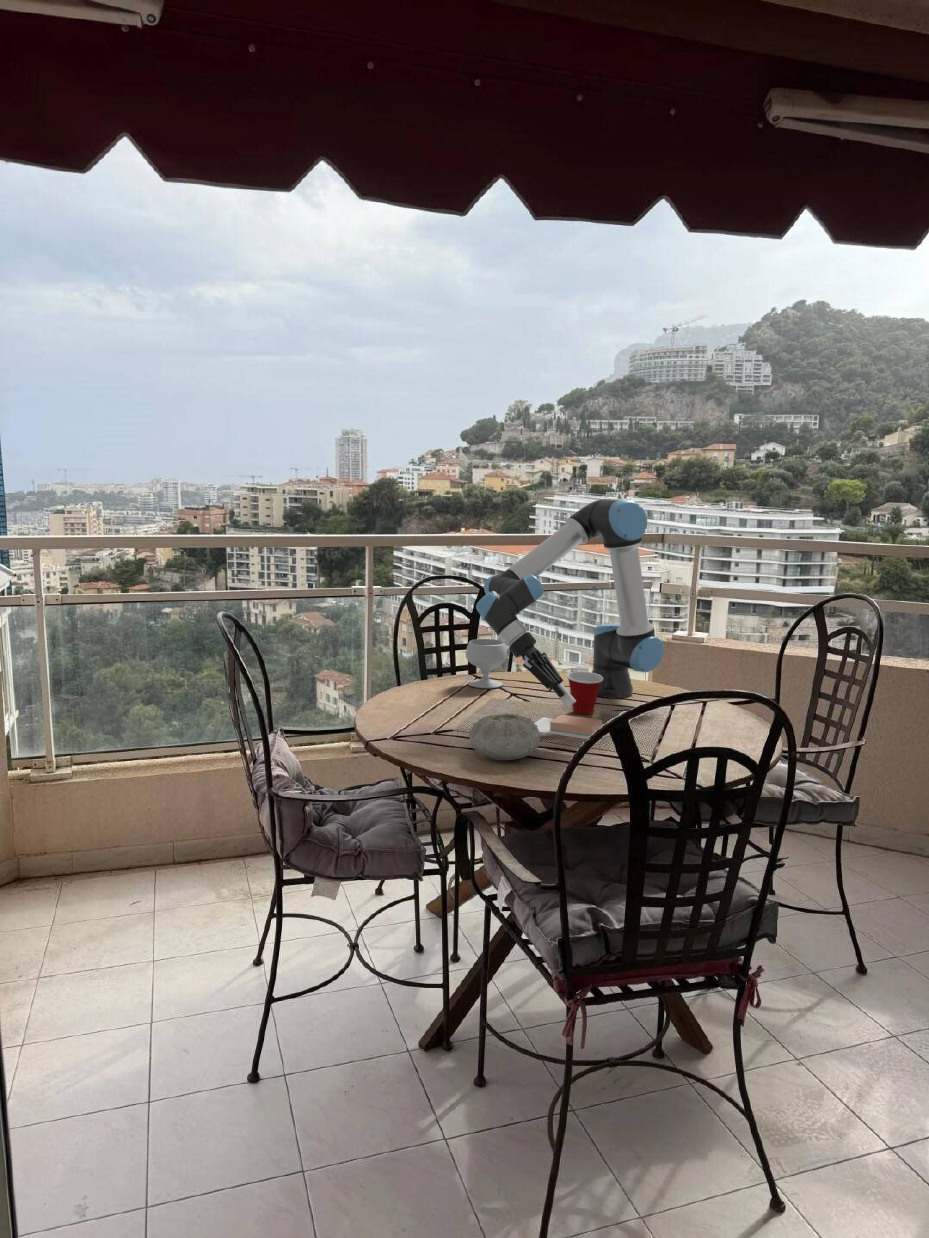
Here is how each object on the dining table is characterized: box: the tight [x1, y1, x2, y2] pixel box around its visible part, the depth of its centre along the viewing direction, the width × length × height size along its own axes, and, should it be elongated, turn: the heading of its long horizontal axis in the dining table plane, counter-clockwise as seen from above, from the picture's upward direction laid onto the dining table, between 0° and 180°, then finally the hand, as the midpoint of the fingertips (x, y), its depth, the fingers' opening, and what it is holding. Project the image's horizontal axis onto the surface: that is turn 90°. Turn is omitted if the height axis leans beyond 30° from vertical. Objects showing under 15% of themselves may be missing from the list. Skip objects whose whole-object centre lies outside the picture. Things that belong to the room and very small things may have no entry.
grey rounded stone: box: [468, 712, 541, 761], centre depth 205 cm, size 18×18×10 cm
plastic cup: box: [566, 670, 603, 716], centre depth 243 cm, size 11×11×12 cm
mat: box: [533, 716, 589, 740], centre depth 227 cm, size 20×14×1 cm
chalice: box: [465, 638, 508, 689], centre depth 277 cm, size 14×14×15 cm
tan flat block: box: [550, 713, 603, 736], centre depth 226 cm, size 2×9×12 cm
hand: (571, 704), depth 226 cm, fingers closed
